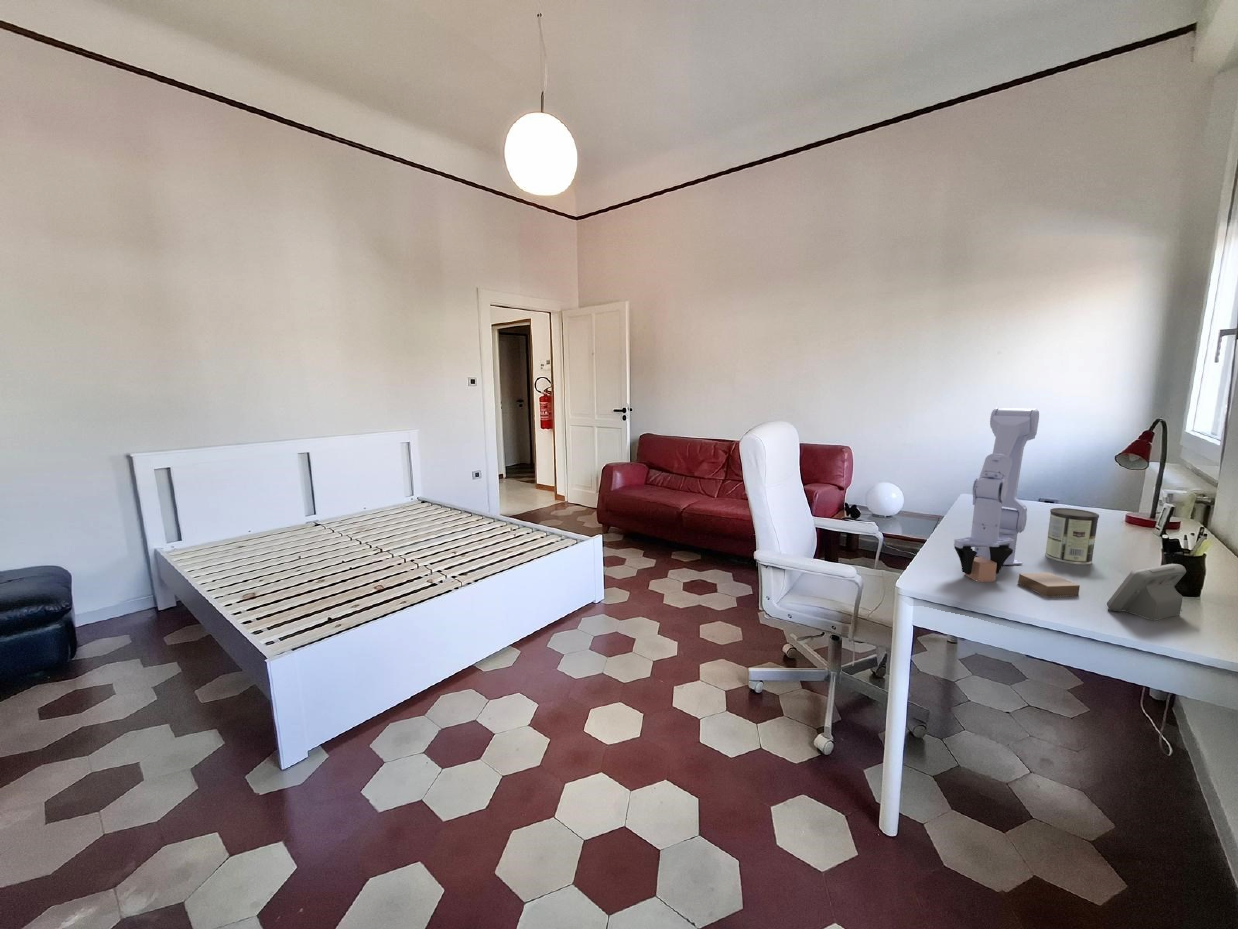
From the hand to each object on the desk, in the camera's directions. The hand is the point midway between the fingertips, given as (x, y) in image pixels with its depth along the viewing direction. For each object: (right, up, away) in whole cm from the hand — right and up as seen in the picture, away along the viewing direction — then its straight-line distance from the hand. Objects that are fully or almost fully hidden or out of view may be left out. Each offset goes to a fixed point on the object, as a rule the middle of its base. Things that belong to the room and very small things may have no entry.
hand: (980, 572), depth 128 cm
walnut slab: (+11, -3, -7) cm, 14 cm away
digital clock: (+23, -4, -18) cm, 30 cm away
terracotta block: (0, -2, 0) cm, 2 cm away
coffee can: (+36, +1, +13) cm, 38 cm away
